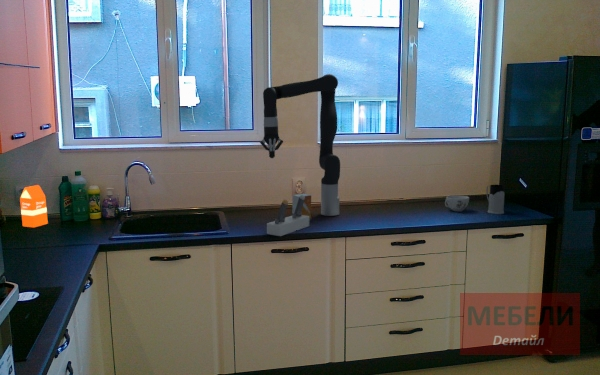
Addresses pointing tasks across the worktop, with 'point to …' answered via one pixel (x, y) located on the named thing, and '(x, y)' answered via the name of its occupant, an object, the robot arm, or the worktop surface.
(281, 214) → the tan tipped lever
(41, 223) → the orange juice
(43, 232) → the worktop surface
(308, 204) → the small box
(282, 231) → the switch box
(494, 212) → the glass holder
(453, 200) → the teacup
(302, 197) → the grey lever
